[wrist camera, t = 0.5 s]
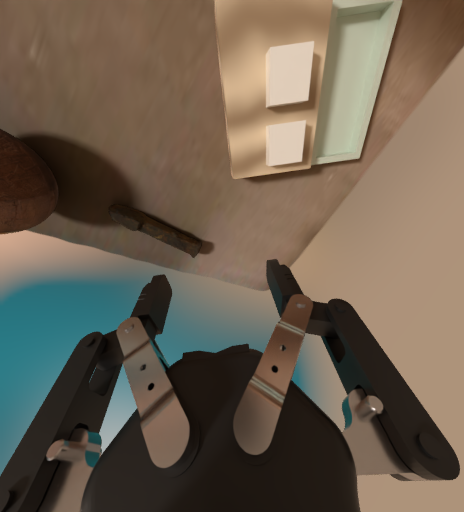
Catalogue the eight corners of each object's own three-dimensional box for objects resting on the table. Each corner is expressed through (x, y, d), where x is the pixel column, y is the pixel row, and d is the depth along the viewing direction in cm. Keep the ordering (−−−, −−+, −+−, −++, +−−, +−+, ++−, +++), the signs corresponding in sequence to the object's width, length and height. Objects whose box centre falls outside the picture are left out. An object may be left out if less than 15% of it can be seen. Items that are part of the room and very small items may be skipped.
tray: (320, 9, 22) (331, -4, 20) (389, -1, 22) (406, -15, 20) (303, 163, 33) (309, 165, 31) (350, 157, 33) (359, 158, 31)
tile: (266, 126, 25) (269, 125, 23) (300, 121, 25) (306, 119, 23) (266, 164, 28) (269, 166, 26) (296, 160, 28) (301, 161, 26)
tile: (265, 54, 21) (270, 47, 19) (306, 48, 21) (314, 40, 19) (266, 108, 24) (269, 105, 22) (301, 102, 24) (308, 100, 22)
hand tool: (203, 239, 41) (202, 250, 37) (195, 251, 42) (193, 262, 38) (119, 192, 33) (107, 198, 29) (113, 208, 35) (100, 217, 31)
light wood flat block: (214, 24, 22) (214, -2, 18) (313, 10, 22) (335, -19, 18) (231, 174, 33) (233, 179, 29) (298, 164, 33) (310, 168, 28)
